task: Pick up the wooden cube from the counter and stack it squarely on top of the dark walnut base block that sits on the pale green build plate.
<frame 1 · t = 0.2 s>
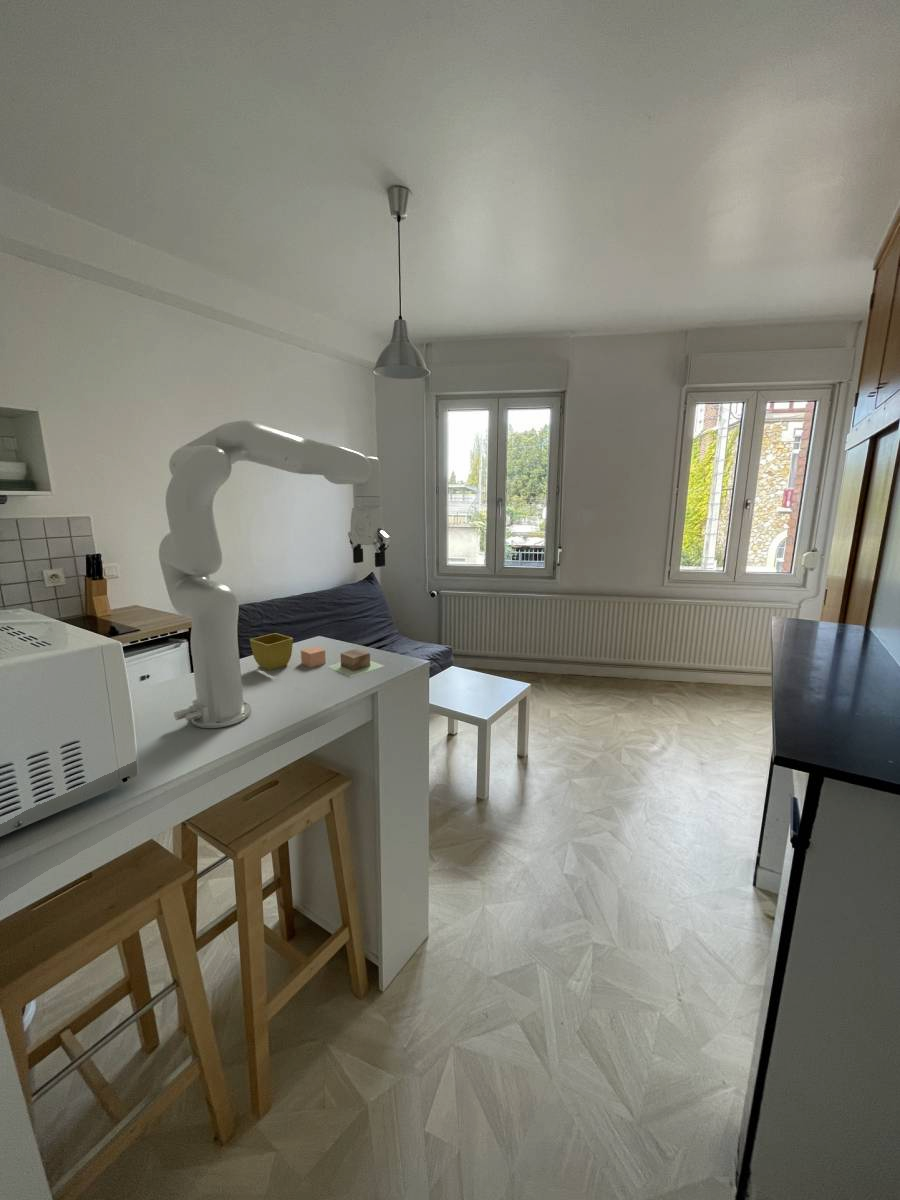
hand: (369, 564, 140), 31 cm above the countertop, tool pointing down, fingers open, 9 cm apart
build plate: (355, 668, 144), on the countertop
base block: (355, 666, 144), point 1 cm above the countertop, touching build plate
flower pot: (273, 668, 144), on the countertop
cube: (313, 666, 146), on the countertop
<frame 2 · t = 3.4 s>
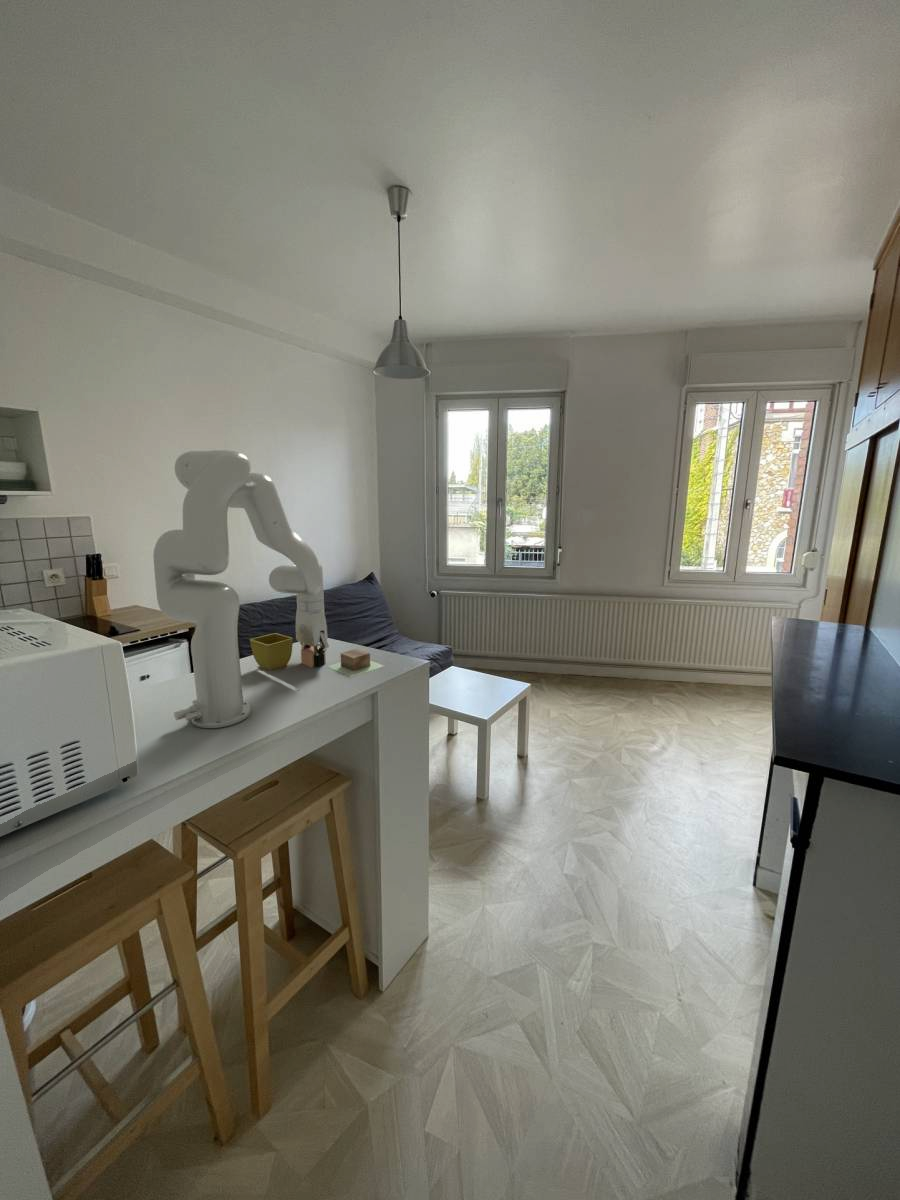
hand: (313, 664, 146), 0 cm above the countertop, tool pointing down, fingers closed on cube, 5 cm apart
cube: (313, 665, 146), on the countertop, touching gripper
everything else where it was.
when the fingers open (7 cm above the countertop, at t = 7.5 s): cube drops 1 cm, resting on base block.
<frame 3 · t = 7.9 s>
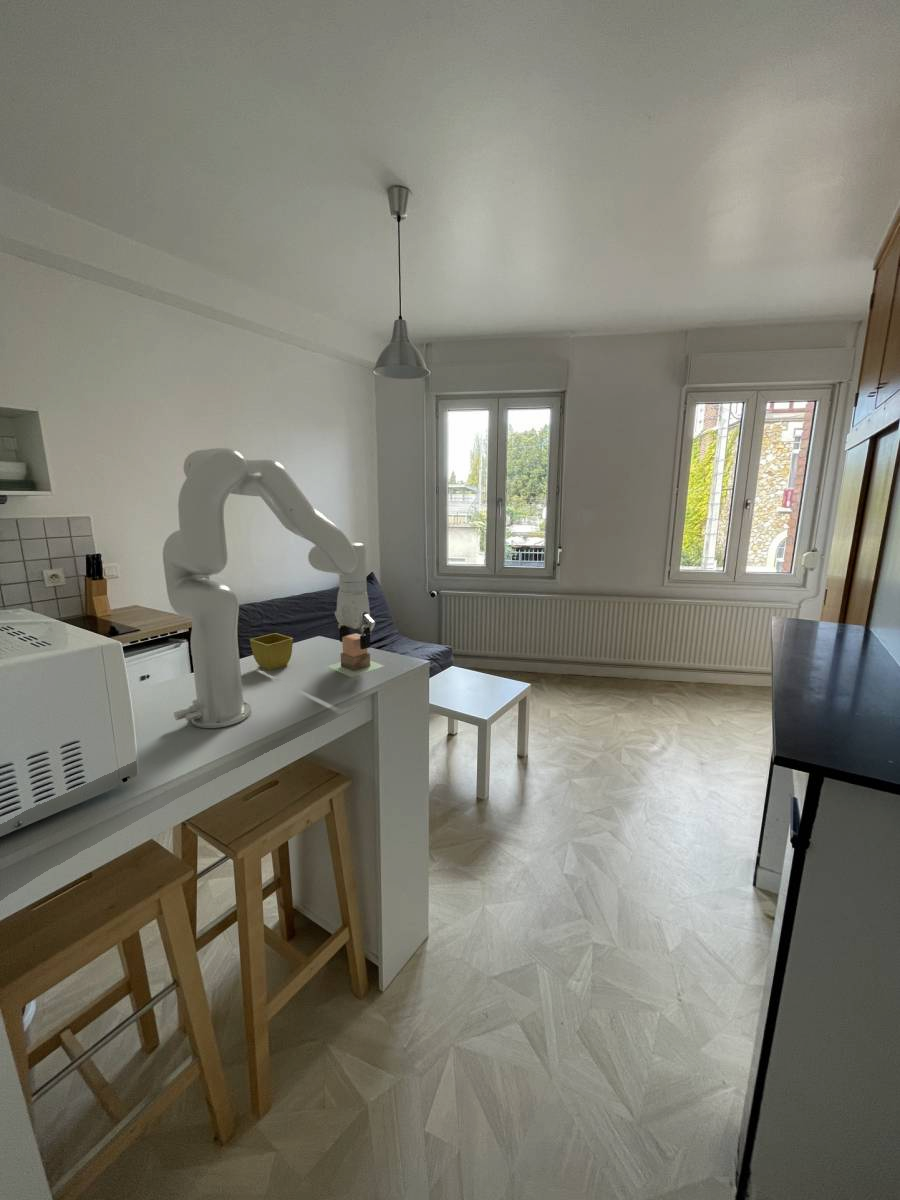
hand: (354, 644, 142), 7 cm above the countertop, tool pointing down, fingers open, 9 cm apart
base block: (355, 666, 144), point 1 cm above the countertop, touching build plate, cube
cube: (355, 653, 143), point 5 cm above the countertop, touching base block
everything else where it was.
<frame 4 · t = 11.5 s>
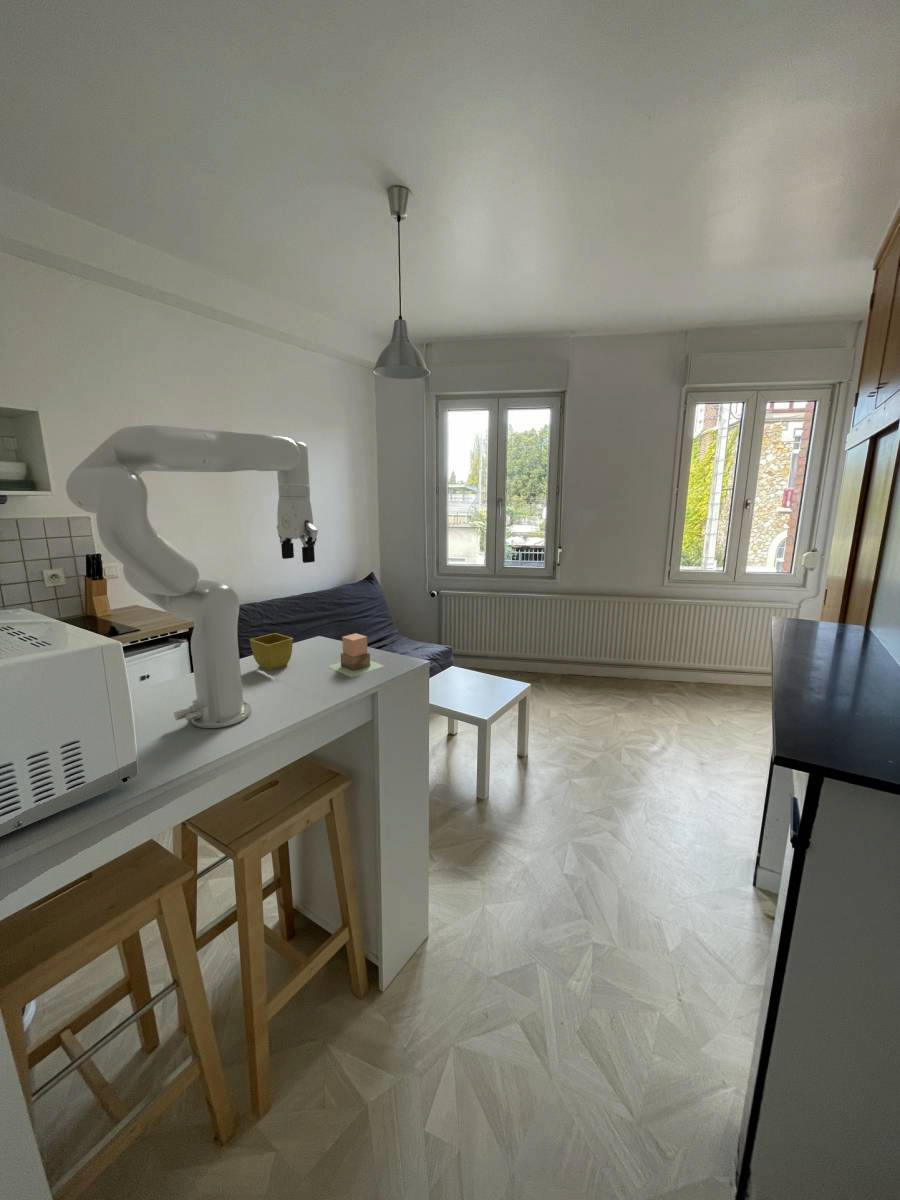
hand: (298, 560, 127), 33 cm above the countertop, tool pointing down, fingers open, 9 cm apart
nothing on the countertop moved.
at the end: cube 0.0 cm off-centre on the base block, point 4.0 cm above the base block's base; cube tilted 0°; base block moved 0.0 cm from its start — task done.
